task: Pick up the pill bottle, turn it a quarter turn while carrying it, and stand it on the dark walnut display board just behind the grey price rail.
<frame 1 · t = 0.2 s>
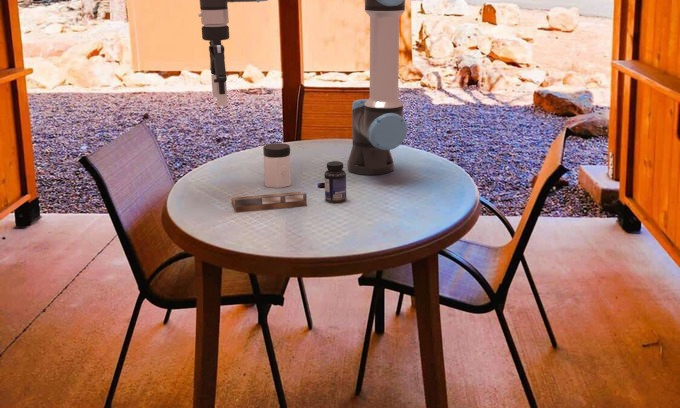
hand: (219, 101, 223), 28 cm above the table, fingers open, 13 cm apart
board: (269, 204, 222), on the table
jar: (278, 184, 241), on the table
pill bottle: (335, 201, 224), on the table
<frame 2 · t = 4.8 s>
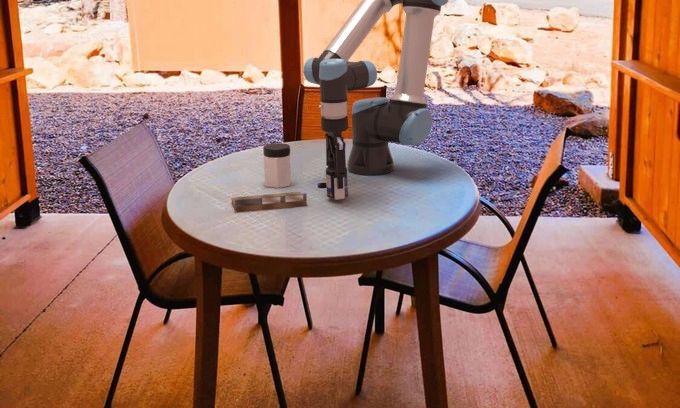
hand: (336, 195, 224), 1 cm above the table, fingers closed on pill bottle, 6 cm apart
pill bottle: (337, 196, 225), point 1 cm above the table, touching gripper
everything else where it was.
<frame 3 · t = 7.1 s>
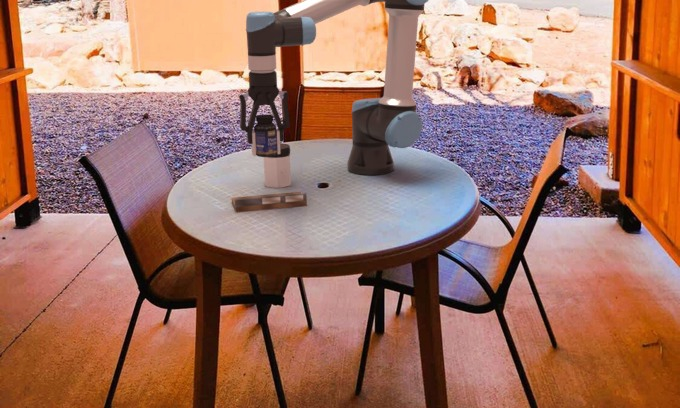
hand: (266, 153, 218), 15 cm above the table, fingers closed on pill bottle, 6 cm apart
pill bottle: (266, 155, 218), point 14 cm above the table, touching gripper
everything else where it was.
when the fingers open (3 cm above the table, at t = 9.4 s): pill bottle stays where it is, resting on board.
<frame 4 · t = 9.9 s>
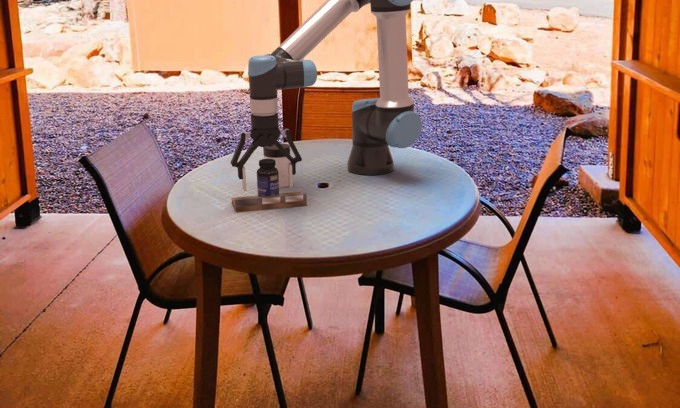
hand: (267, 187, 221), 5 cm above the table, fingers open, 12 cm apart
pill bottle: (268, 198, 222), point 1 cm above the table, touching board
everything else where it was.
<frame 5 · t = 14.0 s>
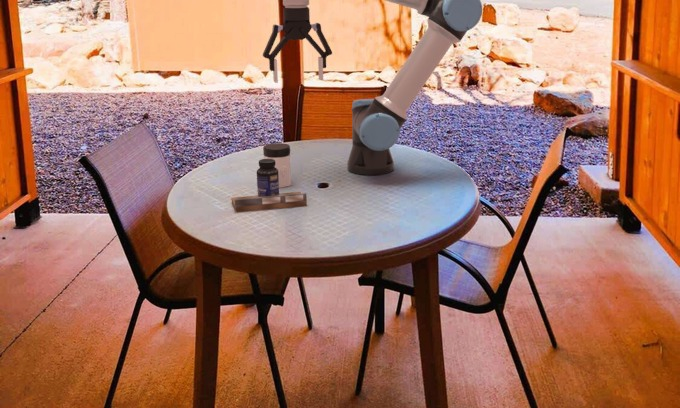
hand: (298, 80, 231), 32 cm above the table, fingers open, 13 cm apart
nothing on the table moved.
at the end: pill bottle inside the target area on the board (0.1 cm from its centre), point 1.3 cm above the board's base; pill bottle tilted 0°; the gripper is holding nothing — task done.
